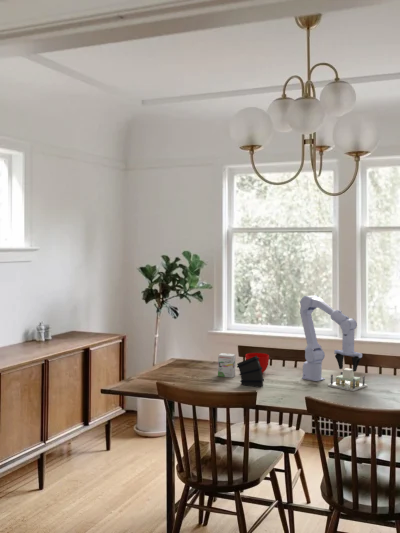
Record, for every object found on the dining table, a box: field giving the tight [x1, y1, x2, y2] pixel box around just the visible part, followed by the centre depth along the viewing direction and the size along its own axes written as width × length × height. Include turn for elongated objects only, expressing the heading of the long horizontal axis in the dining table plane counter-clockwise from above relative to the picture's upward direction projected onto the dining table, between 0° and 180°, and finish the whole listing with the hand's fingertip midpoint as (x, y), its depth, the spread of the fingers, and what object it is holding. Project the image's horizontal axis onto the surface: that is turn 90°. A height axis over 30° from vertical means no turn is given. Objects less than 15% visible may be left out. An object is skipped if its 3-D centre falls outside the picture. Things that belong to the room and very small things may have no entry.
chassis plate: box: [327, 371, 368, 392], centre depth 286 cm, size 14×14×6 cm
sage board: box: [335, 367, 361, 382], centre depth 286 cm, size 10×7×5 cm
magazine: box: [236, 356, 265, 388], centre depth 285 cm, size 4×13×15 cm, turn 62°
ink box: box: [217, 352, 236, 379], centre depth 306 cm, size 8×5×12 cm, turn 69°
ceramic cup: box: [245, 352, 270, 374], centre depth 316 cm, size 13×17×10 cm
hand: (347, 370), depth 285 cm, fingers open, 7 cm apart
